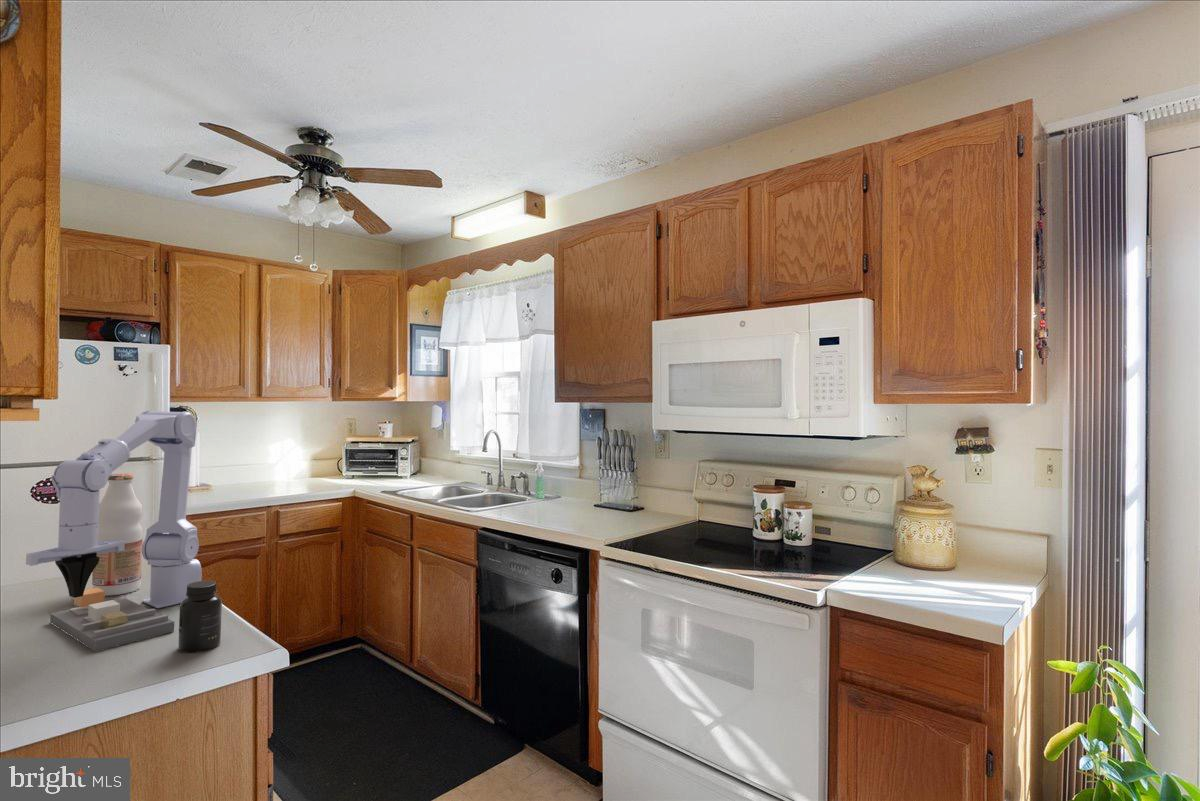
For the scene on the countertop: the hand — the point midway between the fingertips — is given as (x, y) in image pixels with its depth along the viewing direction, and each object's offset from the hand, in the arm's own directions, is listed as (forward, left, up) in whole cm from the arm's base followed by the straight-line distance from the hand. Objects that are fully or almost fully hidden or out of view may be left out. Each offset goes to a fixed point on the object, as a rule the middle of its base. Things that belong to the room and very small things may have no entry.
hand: (76, 596), depth 117 cm
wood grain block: (-6, +1, -7) cm, 9 cm away
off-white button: (-7, -7, -7) cm, 12 cm away
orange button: (-7, -15, -6) cm, 18 cm away
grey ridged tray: (-8, -6, -10) cm, 14 cm away
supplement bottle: (-14, +18, -10) cm, 25 cm away
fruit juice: (-18, -33, -10) cm, 39 cm away
